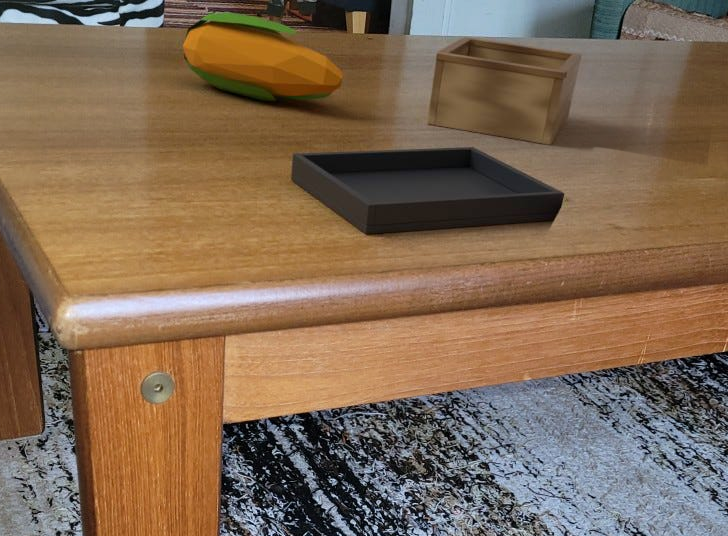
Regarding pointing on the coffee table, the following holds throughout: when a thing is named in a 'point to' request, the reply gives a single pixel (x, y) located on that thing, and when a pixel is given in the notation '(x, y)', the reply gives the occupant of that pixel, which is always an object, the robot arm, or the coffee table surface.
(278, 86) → the corn
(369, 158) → the tray
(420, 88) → the coffee table surface
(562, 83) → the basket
